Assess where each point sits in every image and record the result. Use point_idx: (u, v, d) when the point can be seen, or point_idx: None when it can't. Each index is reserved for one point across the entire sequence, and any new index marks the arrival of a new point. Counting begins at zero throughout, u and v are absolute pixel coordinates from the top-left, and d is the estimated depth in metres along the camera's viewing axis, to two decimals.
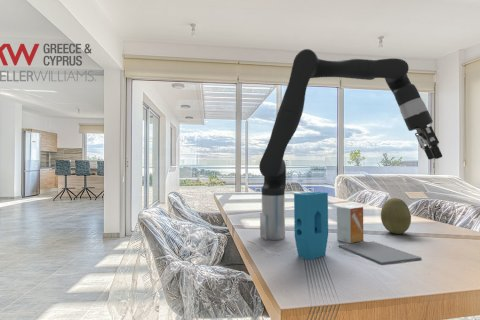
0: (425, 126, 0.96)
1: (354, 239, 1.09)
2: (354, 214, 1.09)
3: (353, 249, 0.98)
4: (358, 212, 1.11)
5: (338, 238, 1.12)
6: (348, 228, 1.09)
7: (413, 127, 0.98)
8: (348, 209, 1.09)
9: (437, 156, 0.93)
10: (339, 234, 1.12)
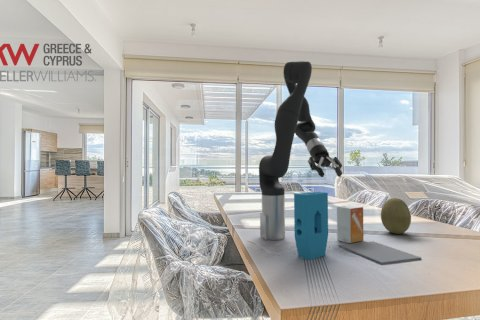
0: None
1: (354, 239, 1.09)
2: (354, 214, 1.09)
3: (353, 249, 0.98)
4: (358, 212, 1.11)
5: (338, 238, 1.12)
6: (348, 228, 1.09)
7: (327, 151, 1.31)
8: (348, 209, 1.09)
9: (341, 173, 1.26)
10: (339, 234, 1.12)
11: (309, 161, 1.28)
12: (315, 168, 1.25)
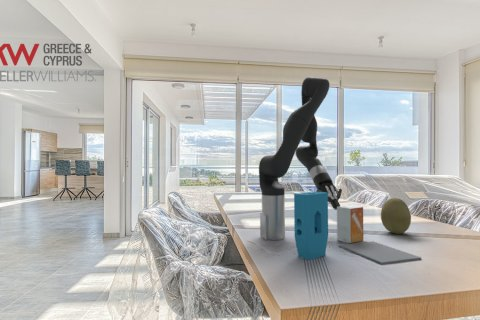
0: None
1: (354, 239, 1.09)
2: (354, 214, 1.09)
3: (353, 249, 0.98)
4: (358, 212, 1.11)
5: (338, 238, 1.12)
6: (348, 228, 1.09)
7: (331, 180, 1.29)
8: (348, 209, 1.09)
9: (339, 206, 1.21)
10: (339, 234, 1.12)
11: None
12: (328, 200, 1.23)
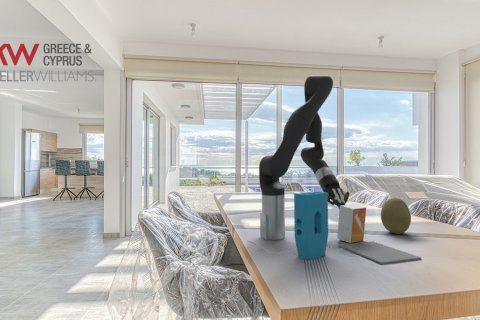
0: None
1: (354, 239, 1.09)
2: (357, 215, 1.08)
3: (353, 249, 0.98)
4: (361, 213, 1.10)
5: (338, 237, 1.12)
6: (349, 228, 1.08)
7: (338, 182, 1.24)
8: (351, 209, 1.08)
9: None
10: (340, 233, 1.12)
11: None
12: (336, 203, 1.18)
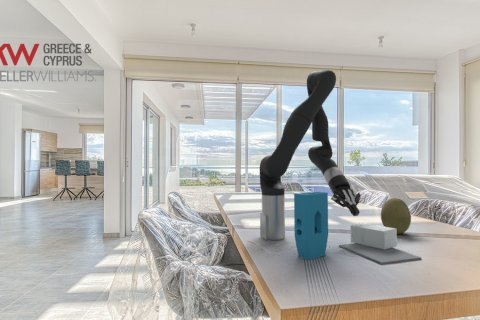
0: None
1: None
2: None
3: (353, 249, 0.98)
4: None
5: (352, 227, 1.07)
6: (364, 242, 1.03)
7: None
8: (383, 246, 0.98)
9: None
10: (356, 229, 1.06)
11: (335, 199, 1.13)
12: (346, 205, 1.11)
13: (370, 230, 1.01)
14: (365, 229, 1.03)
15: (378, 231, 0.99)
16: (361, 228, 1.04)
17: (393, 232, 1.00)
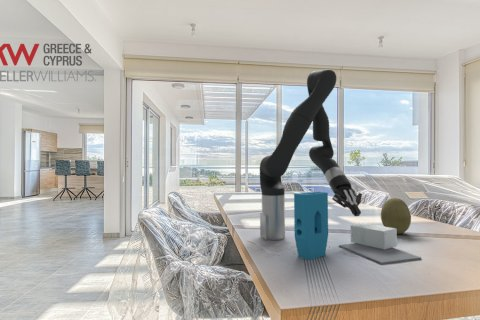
0: None
1: None
2: None
3: (353, 249, 0.98)
4: None
5: (352, 227, 1.07)
6: (364, 242, 1.03)
7: (350, 183, 1.17)
8: (383, 246, 0.98)
9: None
10: (356, 229, 1.06)
11: (336, 199, 1.12)
12: (348, 206, 1.11)
13: (370, 230, 1.01)
14: (365, 229, 1.03)
15: (378, 231, 0.99)
16: (361, 228, 1.04)
17: (393, 232, 1.00)
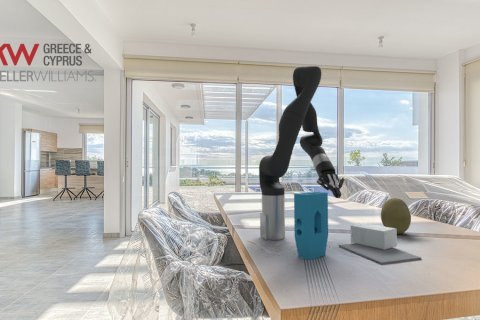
0: None
1: None
2: None
3: (353, 249, 0.98)
4: None
5: (352, 227, 1.07)
6: (364, 242, 1.03)
7: (334, 169, 1.26)
8: (383, 246, 0.98)
9: None
10: (356, 229, 1.06)
11: (320, 182, 1.22)
12: (330, 188, 1.20)
13: (370, 230, 1.01)
14: (365, 229, 1.03)
15: (378, 231, 0.99)
16: (361, 228, 1.04)
17: (393, 232, 1.00)
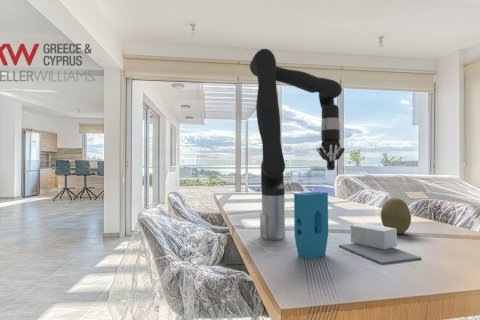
0: None
1: None
2: None
3: (353, 249, 0.98)
4: None
5: (352, 227, 1.07)
6: (364, 242, 1.03)
7: (339, 138, 1.23)
8: (383, 246, 0.98)
9: (333, 168, 1.25)
10: (356, 229, 1.06)
11: (319, 152, 1.23)
12: (326, 160, 1.24)
13: (370, 230, 1.01)
14: (365, 229, 1.03)
15: (378, 231, 0.99)
16: (361, 228, 1.04)
17: (393, 232, 1.00)
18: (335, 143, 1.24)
